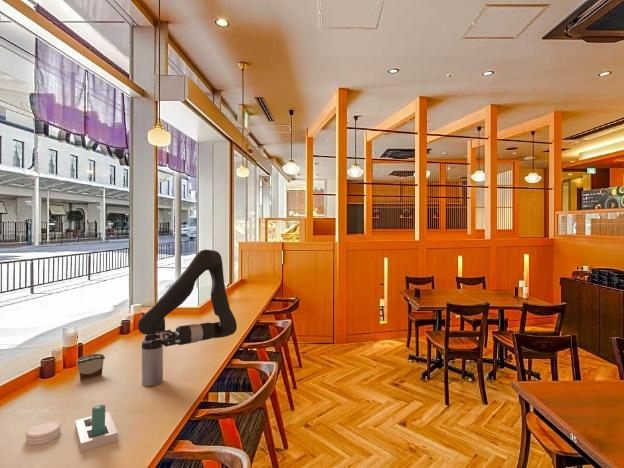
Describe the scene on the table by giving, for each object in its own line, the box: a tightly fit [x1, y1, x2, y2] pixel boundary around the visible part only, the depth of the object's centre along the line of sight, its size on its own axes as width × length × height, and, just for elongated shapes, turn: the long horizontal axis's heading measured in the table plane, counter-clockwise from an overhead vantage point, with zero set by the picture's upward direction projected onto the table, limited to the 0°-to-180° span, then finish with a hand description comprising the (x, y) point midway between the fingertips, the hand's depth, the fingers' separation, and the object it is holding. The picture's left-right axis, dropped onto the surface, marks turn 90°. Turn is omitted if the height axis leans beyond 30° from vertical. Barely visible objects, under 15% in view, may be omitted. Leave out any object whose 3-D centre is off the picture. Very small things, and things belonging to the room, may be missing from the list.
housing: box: [74, 411, 119, 453], centre depth 136 cm, size 18×11×3 cm, turn 37°
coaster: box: [25, 420, 62, 446], centre depth 134 cm, size 10×10×4 cm
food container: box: [76, 353, 106, 382], centre depth 188 cm, size 12×6×10 cm, turn 134°
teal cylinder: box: [91, 404, 106, 438], centre depth 132 cm, size 4×4×11 cm
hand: (147, 341), depth 148 cm, fingers open, 8 cm apart
